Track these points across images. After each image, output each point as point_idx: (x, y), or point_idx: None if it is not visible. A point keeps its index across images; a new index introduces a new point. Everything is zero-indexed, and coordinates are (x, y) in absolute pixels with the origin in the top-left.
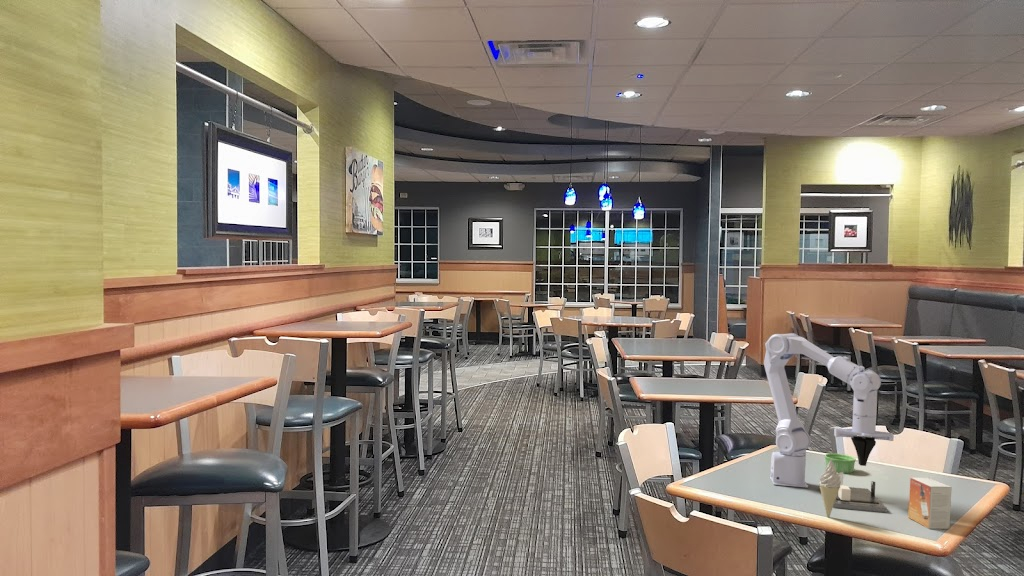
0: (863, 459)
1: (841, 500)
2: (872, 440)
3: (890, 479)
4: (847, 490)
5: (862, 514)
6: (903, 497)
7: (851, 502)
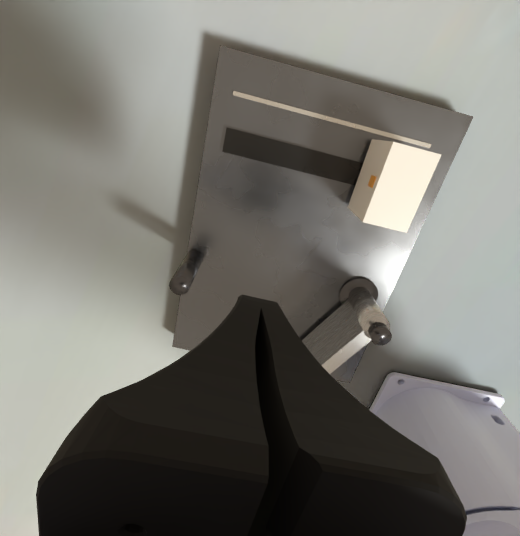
0: (266, 317)
1: None
2: (94, 533)
3: (32, 470)
4: (407, 145)
5: (373, 2)
6: (50, 295)
7: (369, 128)
